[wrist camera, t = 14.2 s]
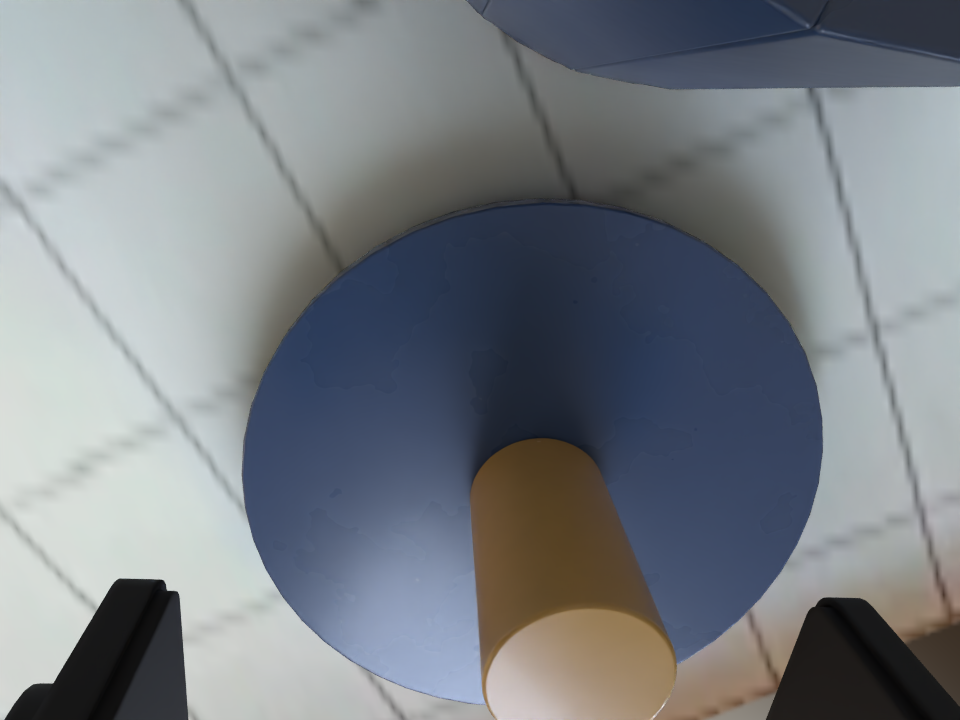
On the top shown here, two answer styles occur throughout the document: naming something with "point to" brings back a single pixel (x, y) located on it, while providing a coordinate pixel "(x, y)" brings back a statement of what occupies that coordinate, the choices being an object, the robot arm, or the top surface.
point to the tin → (742, 41)
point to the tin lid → (533, 457)
